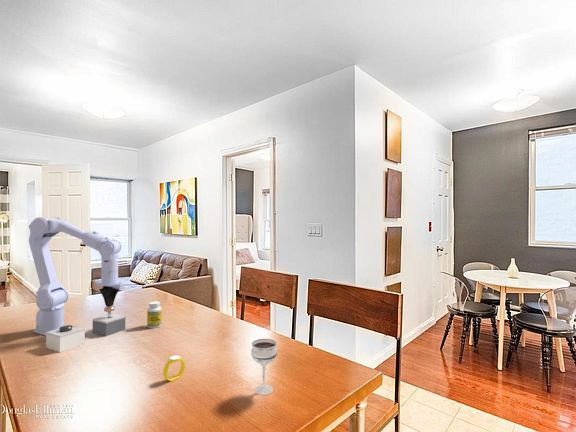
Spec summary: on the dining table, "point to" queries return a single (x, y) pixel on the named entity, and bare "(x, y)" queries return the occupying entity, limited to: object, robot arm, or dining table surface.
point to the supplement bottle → (154, 315)
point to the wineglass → (264, 360)
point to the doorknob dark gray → (65, 328)
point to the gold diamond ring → (171, 359)
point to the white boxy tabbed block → (108, 324)
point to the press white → (65, 339)
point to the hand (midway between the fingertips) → (109, 306)
